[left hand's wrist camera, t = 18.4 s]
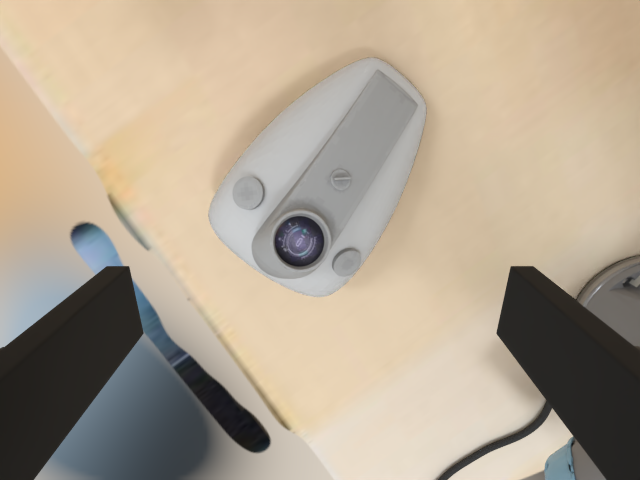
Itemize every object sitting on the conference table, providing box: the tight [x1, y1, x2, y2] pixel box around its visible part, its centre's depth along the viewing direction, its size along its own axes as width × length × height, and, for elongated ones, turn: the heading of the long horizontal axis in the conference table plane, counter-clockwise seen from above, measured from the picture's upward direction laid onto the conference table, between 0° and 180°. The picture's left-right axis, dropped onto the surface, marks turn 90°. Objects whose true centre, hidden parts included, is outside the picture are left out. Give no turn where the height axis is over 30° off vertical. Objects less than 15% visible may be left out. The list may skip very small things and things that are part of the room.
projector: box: [209, 57, 427, 297], centre depth 33 cm, size 22×23×15 cm
